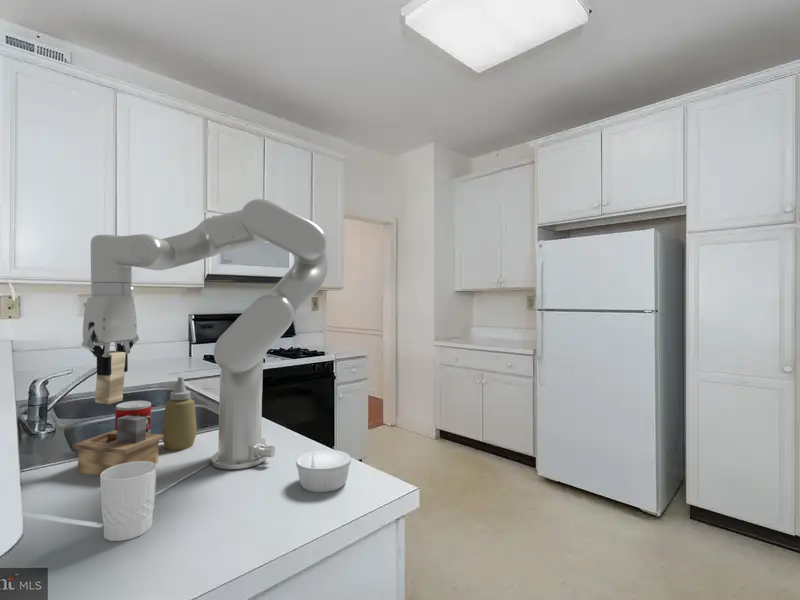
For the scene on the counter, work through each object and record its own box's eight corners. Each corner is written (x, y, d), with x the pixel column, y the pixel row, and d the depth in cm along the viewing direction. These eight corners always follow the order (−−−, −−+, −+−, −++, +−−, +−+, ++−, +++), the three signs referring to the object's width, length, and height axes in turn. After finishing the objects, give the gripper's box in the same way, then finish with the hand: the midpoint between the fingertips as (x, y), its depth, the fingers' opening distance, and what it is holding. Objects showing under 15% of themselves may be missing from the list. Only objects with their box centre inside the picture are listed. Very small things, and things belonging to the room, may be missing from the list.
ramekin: (285, 482, 90) (286, 457, 90) (329, 468, 98) (329, 445, 98) (316, 501, 82) (316, 473, 82) (360, 484, 90) (361, 459, 90)
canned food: (134, 453, 104) (134, 408, 105) (106, 450, 106) (107, 406, 106) (157, 443, 112) (158, 401, 112) (131, 440, 114) (132, 399, 114)
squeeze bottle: (203, 447, 110) (204, 377, 110) (172, 456, 103) (173, 382, 103) (185, 441, 114) (186, 373, 114) (154, 449, 107) (156, 378, 107)
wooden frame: (163, 438, 98) (163, 412, 98) (125, 453, 88) (126, 425, 88) (114, 433, 101) (115, 408, 101) (72, 448, 91) (73, 420, 91)
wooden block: (122, 400, 97) (125, 352, 97) (108, 404, 93) (111, 354, 93) (109, 398, 98) (112, 350, 97) (95, 402, 94) (98, 352, 94)
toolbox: (158, 465, 98) (158, 438, 98) (125, 481, 89) (125, 452, 89) (114, 460, 100) (114, 434, 100) (77, 475, 91) (78, 447, 91)
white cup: (93, 548, 65) (94, 483, 65) (105, 523, 72) (106, 464, 72) (152, 537, 68) (153, 475, 68) (158, 514, 76) (159, 458, 76)
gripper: (128, 291, 104) (129, 367, 104) (61, 290, 88) (62, 379, 88) (154, 291, 102) (155, 367, 103) (91, 290, 86) (92, 381, 86)
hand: (112, 372), depth 95 cm, fingers closed on wooden block, 3 cm apart
